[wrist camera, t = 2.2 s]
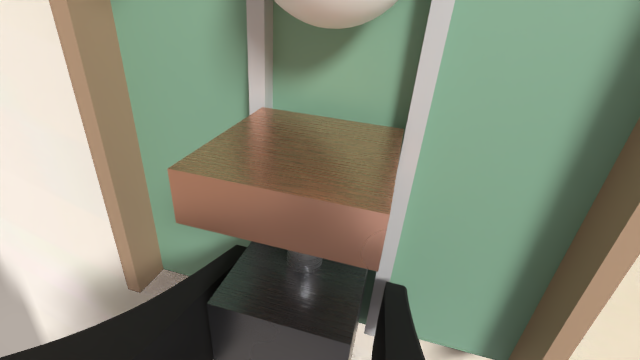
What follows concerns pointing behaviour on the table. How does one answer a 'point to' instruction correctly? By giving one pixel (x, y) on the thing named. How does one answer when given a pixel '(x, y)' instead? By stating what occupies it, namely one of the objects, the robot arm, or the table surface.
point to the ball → (335, 11)
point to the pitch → (416, 149)
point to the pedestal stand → (291, 228)
